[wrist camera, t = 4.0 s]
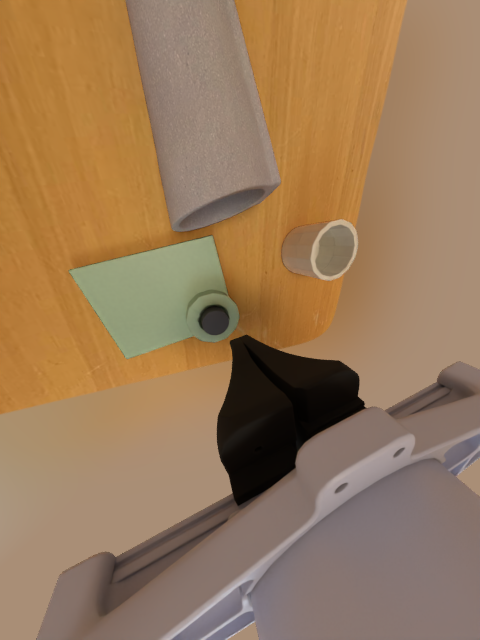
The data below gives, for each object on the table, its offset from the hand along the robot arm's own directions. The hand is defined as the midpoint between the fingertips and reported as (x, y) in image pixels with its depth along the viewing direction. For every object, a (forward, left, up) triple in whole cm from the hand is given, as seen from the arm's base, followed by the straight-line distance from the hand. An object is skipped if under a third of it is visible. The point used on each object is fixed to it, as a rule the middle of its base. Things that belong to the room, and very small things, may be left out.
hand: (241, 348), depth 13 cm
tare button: (0, +1, -8) cm, 8 cm away
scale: (+3, +5, -10) cm, 11 cm away
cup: (+4, -12, -10) cm, 16 cm away
